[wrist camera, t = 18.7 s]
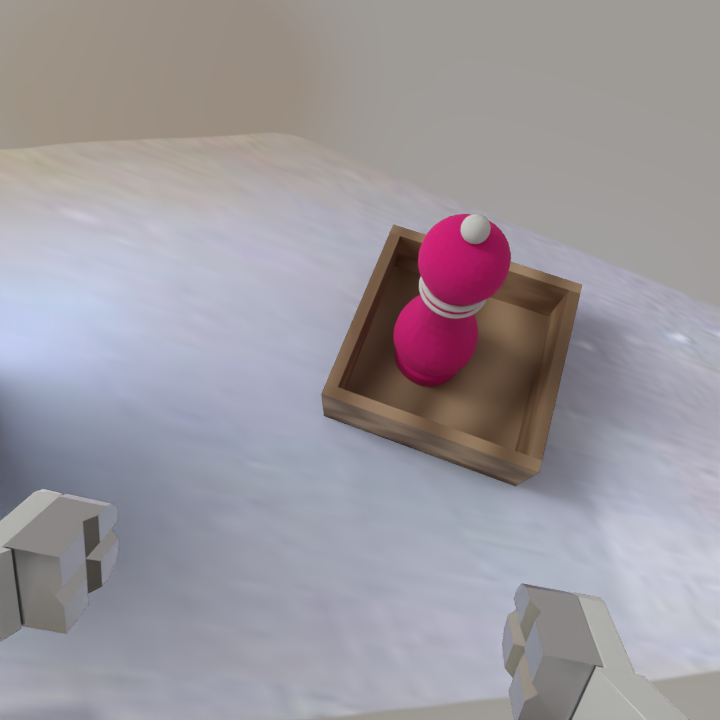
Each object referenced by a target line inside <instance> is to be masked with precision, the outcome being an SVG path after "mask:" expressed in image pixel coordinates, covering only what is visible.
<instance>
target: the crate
mask: <svg viewBox="0 0 720 720" xmlns="http://www.w3.org/2000/svg"><path fill="white" fill-rule="evenodd" d="M425 236H426V235H425V234H422V233H418V232H415V231H412V230H409V229H406V228H403V227H400V226H396V225H393V227H392V229H391V231H390V234H389V236H388V238H387V241H386V243H385V245H384V248H383V250H382V253H381V255H380V257H379V260H378V262H377V264H376V267H375V269H374V271H373V274H372V276H371V278H370V281H369V283H368V286H367V288H366V290H365V293H364V295H363V297H362V300H361V302H360V304H359V307H358V309H357V311H356V314H355V316H354V319H353V321H352V323H351V326H350V328H349V330H348V333H347V335H346V337H345V340H344V342H343V344H342V347H341V349H340V352H339V354H338V356H337V359H336V361H335V363H334V366H333V368H332V370H331V373H330V375H329V377H328V380H327V382H326V385H325V387H324V389H323V392H322V402H323V411H324V416H326V417H329V418H332V419H334V420H337V421H340V422H343V423H345V424H348V425H351V426H353V427H356V428H359V429H362V430H364V431H367V432H370V433H373V434H375V435H378V436H381V437H383V438H386V439H389V440H392V441H394V442H397V443H400V444H402V445H405V446H408V447H411V448H413V449H416V450H419V451H422V452H424V453H427V454H430V455H432V456H435V457H438V458H441V459H443V460H446V461H449V462H451V463H454V464H457V465H460V466H462V467H465V468H468V469H471V470H473V471H476V472H479V473H481V474H484V475H487V476H490V477H492V478H495V479H498V480H500V481H503V482H506V483H509V484H511V485H514V486H516V485H518V484H520V483H522V482H523V481H525V480H527V479H529V478H531V477H532V476H534V475H536V474H538V473H539V471H540V467H541V463H542V458H543V454H544V450H545V445H546V441H547V436H548V432H549V428H550V423H551V419H552V415H553V410H554V406H555V402H556V397H557V393H558V388H559V384H560V380H561V375H562V371H563V367H564V362H565V358H566V353H567V349H568V345H569V340H570V336H571V332H572V327H573V323H574V318H575V314H576V310H577V305H578V301H579V297H580V292H581V288H582V284H579V283H575V282H572V281H569V280H566V279H563V278H560V277H557V276H553V275H550V274H547V273H544V272H541V271H538V270H535V269H531V268H528V267H525V266H522V265H519V264H516V263H513V262H510V268H509V271H508V275H507V278H506V279H505V281H504V283H503V285H502V286H501V287H500V289H499V290H498V291H497V292H496V293H495V294H494V295H492V296H491V297H490V298H488V299H487V300H486V302H485V304H484V305H483V307H482V308H481V309H480V310H479V311H478V312H476V313H475V314H474V315H475V317H476V320H477V325H478V341H477V345H476V348H475V351H474V354H473V356H472V358H471V359H470V361H469V362H468V363H467V364H466V365H465V366H464V367H463V368H461V369H460V370H458V371H457V373H456V374H455V375H454V377H453V378H451V379H450V380H449V381H447V382H446V383H444V384H441V385H438V386H423V385H419V384H416V383H414V382H412V381H410V380H409V379H407V378H406V377H405V376H404V375H403V374H402V373H401V371H400V370H399V368H398V366H397V364H396V360H395V345H394V338H393V334H394V327H395V324H396V321H397V319H398V317H399V315H400V313H401V311H402V310H403V308H404V307H405V306H406V305H407V304H408V303H409V302H410V301H411V300H412V299H414V298H415V297H417V296H419V295H420V291H419V280H420V277H421V276H420V272H419V267H418V257H419V250H420V247H421V245H422V242H423V240H424V238H425Z"/></svg>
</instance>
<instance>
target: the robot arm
mask: <svg viewBox="0 0 720 720" xmlns="http://www.w3.org/2000/svg"><path fill="white" fill-rule="evenodd" d="M117 521H118V512H117V507H116V506H115V505H113V504H111V503H107V502H102V501H98V500H93V499H89V498H84V497H80V496H75V495H71V494H63V493H59V492H54V491H50V490H46V489H41V490H38V491H35V492H34V493H32V494H31V495H30V496H29V497H28V498H27V499H25V500H24V501H23V502H22V503H21V504H20V505H18V506H17V507H16V508H15V509H14V510H13V511H11V512H10V513H9V514H8V515H7V516H6V517H4V518H3V519H2V520H1V521H0V642H1V641H2V640H4V639H6V638H7V637H9V636H10V635H12V634H14V633H15V632H17V631H18V630H20V629H21V628H22V627H21V626H25V627H31V628H37V629H43V630H48V631H54V632H60V633H65V634H67V633H68V631H69V630H70V629H71V627H72V626H73V625H74V623H75V622H76V621H77V619H78V618H79V617H80V615H81V614H82V613H83V611H84V610H85V609H86V607H87V606H88V593H90V592H92V591H94V590H96V589H98V588H100V587H102V586H103V584H104V583H105V581H106V580H107V579H108V577H109V576H110V574H111V572H112V570H113V567H114V565H115V563H116V561H117V556H118V551H119V538H118V537H117V535H116V534H115V532H114V531H113V530H112V527H113V526H114V525H115V524H116V523H117ZM514 601H515V606H516V610H515V611H514V612H512V613H511V614H509V615H508V617H507V620H506V624H505V627H504V633H503V642H502V646H503V659H504V666H505V669H506V670H507V671H508V673H509V674H510V675H511V676H512V678H513V680H512V683H511V685H510V688H509V695H510V701H511V706H512V712H513V718H514V720H689V719H688V718H687V717H685V716H684V715H683V714H682V713H681V712H680V711H679V710H678V709H677V708H676V707H675V706H674V705H673V704H672V703H671V702H670V701H669V700H668V699H667V698H666V697H665V696H664V695H663V694H662V693H661V692H660V691H659V690H657V688H655V687H654V686H653V685H652V684H651V683H650V682H649V681H648V680H647V679H646V678H645V677H644V676H641V675H636V674H635V672H634V670H633V667H632V665H631V663H630V660H629V658H628V656H627V653H626V651H625V649H624V646H623V644H622V642H621V639H620V637H619V635H618V632H617V630H616V628H615V625H614V623H613V621H612V618H611V616H610V614H609V611H608V609H607V607H606V604H605V602H604V601H603V600H602V599H601V598H600V597H595V596H590V595H584V594H578V593H570V592H565V591H560V590H554V589H549V588H544V587H538V586H533V585H528V584H522V583H521V584H520V586H519V587H518V588H517V591H516V594H515V597H514Z"/></svg>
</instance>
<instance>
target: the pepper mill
mask: <svg viewBox="0 0 720 720" xmlns="http://www.w3.org/2000/svg"><path fill="white" fill-rule="evenodd" d="M510 261H511V253H510V248H509V244H508V241H507V239H506V237H505V235H504V234H503V233H502V231H501V230H500V229H499V228H498V227H497V226H496V225H495V224H493V223H492V222H490V221H489V220H488V219H487V218H486V217H484V216H483V215H480V214H472V215H471V214H460V215H454V216H450V217H448V218H446V219H444V220H442V221H440V222H439V223H437V224H436V225H435V226H433V228H432V229H431V230H430V231H429V232H428V233H427V235H426V236H425V238H424V240H423V242H422V245H421V247H420V250H419V257H418V267H419V272H420V276H421V277H420V280H419V291H420V295H419V296H417V297H415V298H414V299H412V300H411V301H410V302H409V303H408V304H407V305H406V306H405V307H404V308H403V310H402V311H401V313H400V315H399V317H398V319H397V321H396V324H395V327H394V334H393V338H394V345H395V360H396V364H397V366H398V368H399V370H400V371H401V373H402V374H403V375H404V376H405V377H406V378H407V379H409V380H410V381H412V382H414V383H416V384H419V385H423V386H438V385H441V384H444V383H446V382H447V381H449V380H450V379H451V378H453V377H454V375H455V374H456V373H457V371H458V370H460V369H461V368H463V367H464V366H465V365H466V364H467V363H468V362H469V361H470V359H471V358H472V356H473V354H474V351H475V348H476V345H477V341H478V325H477V320H476V317H475V315H474V314H475V313H476V312H478V311H479V310H480V309H481V308H482V307H483V305H484V304H485V302H486V300H487V299H488V298H490V297H491V296H492V295H494V294H495V293H496V292H497V291H498V290H499V289H500V287H501V286H502V285H503V283H504V281H505V279H506V278H507V275H508V271H509V268H510Z"/></svg>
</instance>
